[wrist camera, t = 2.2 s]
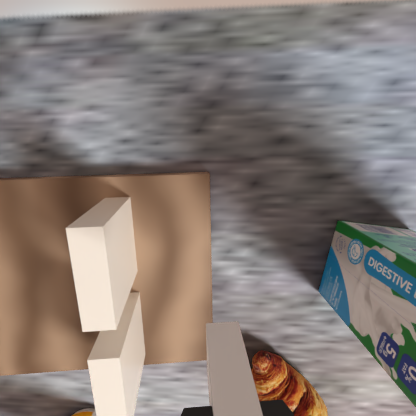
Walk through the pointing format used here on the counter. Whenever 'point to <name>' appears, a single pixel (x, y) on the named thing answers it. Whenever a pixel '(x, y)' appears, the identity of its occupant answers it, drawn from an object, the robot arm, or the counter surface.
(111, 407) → the tile
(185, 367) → the counter surface
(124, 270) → the tile
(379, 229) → the milk carton
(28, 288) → the board
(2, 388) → the counter surface
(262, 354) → the croissant
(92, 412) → the beer can
